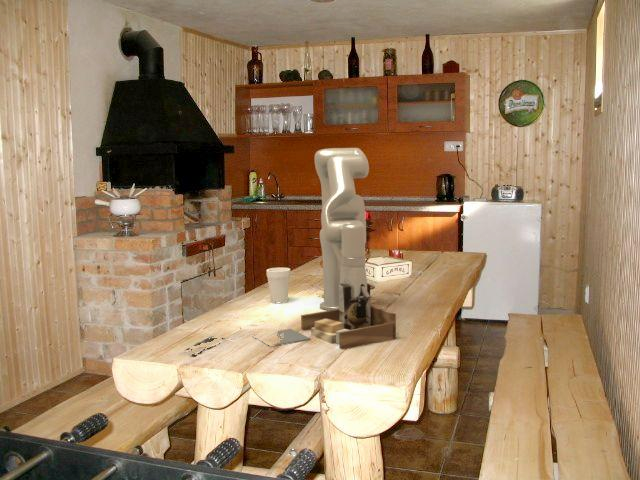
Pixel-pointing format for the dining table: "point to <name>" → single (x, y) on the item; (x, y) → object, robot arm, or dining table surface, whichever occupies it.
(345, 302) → the coffee box
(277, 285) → the foam cup
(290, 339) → the mat
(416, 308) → the dining table surface
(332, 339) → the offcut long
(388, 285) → the dining table surface
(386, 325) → the rack
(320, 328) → the offcut short
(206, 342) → the driftwood
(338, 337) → the offcut cube
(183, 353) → the dining table surface
